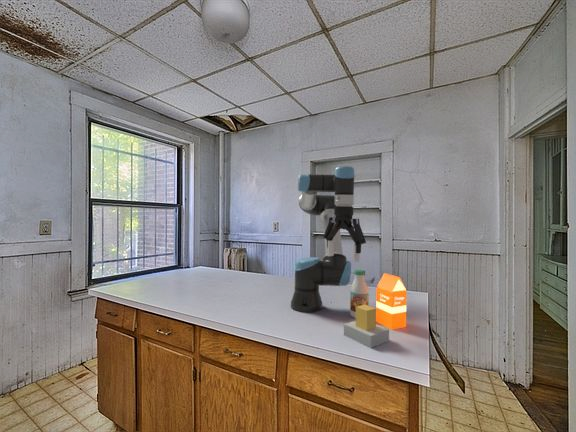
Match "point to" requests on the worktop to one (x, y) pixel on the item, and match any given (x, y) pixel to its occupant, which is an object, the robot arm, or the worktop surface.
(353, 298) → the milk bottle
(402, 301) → the orange juice
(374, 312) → the yellow rectangular block
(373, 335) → the toggle switch box
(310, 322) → the worktop surface
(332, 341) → the worktop surface
